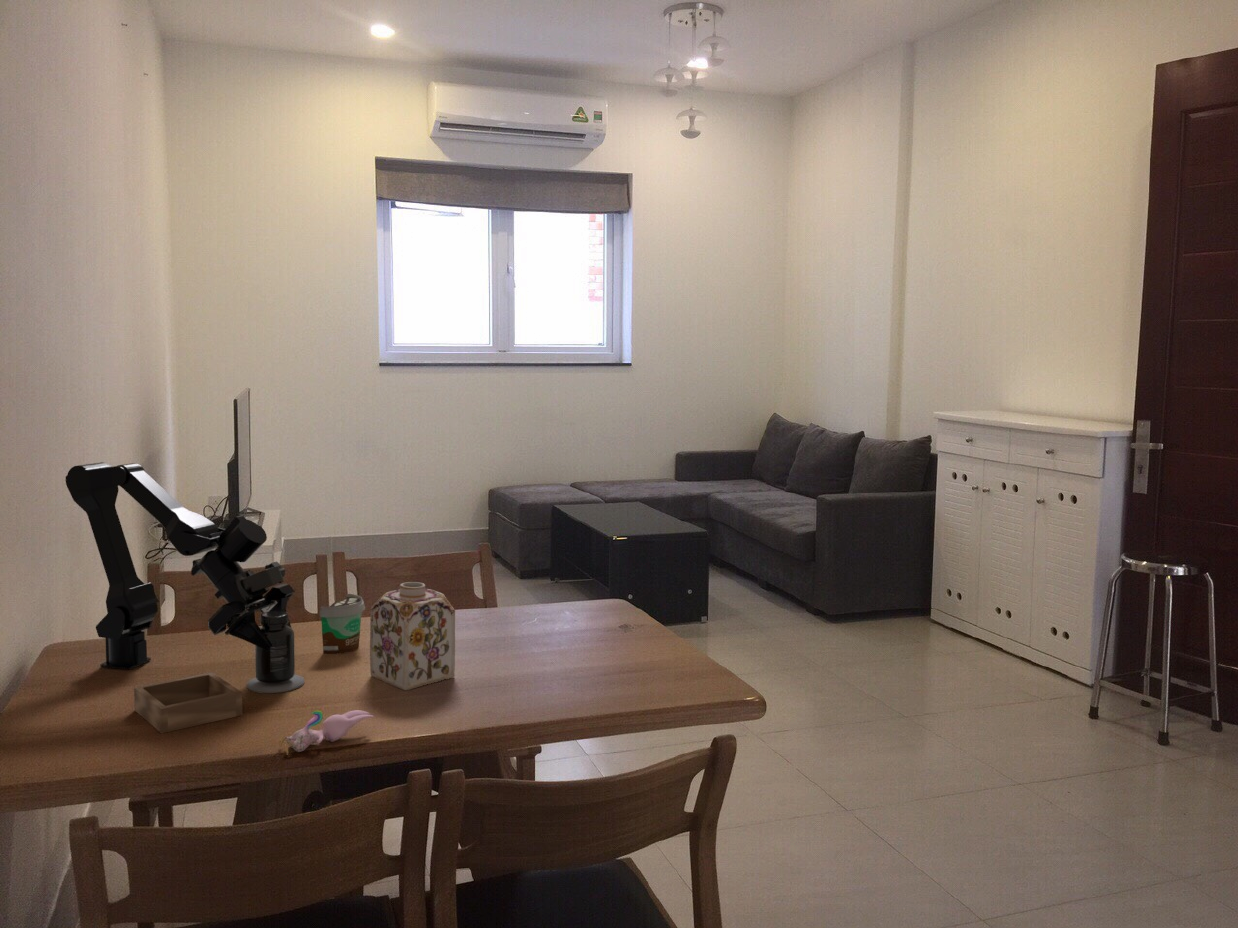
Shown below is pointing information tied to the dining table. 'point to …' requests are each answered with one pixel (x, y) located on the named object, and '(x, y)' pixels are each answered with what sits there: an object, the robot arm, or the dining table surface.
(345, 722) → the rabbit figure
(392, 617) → the decorative jar
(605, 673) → the dining table surface
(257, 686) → the coaster
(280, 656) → the supplement bottle
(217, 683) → the walnut box
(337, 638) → the food container
